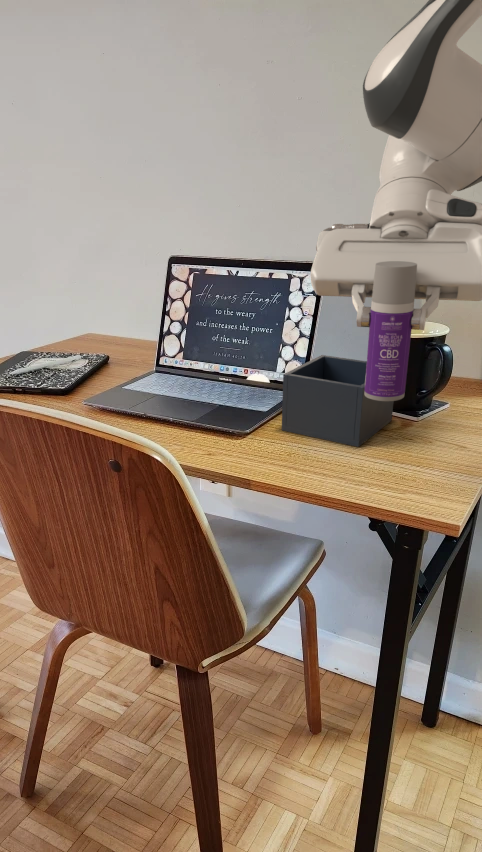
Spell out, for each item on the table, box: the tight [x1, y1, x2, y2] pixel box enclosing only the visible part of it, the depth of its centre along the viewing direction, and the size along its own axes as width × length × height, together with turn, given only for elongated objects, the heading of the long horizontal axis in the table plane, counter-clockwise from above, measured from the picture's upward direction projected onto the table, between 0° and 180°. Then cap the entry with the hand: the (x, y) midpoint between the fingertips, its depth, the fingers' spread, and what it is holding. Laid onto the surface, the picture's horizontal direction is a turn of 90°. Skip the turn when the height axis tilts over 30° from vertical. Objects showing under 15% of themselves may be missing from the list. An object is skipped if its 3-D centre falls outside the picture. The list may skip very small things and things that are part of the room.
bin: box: [281, 354, 395, 448], centre depth 104 cm, size 13×13×9 cm
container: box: [364, 261, 417, 402], centre depth 79 cm, size 5×5×15 cm
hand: (390, 325), depth 78 cm, fingers closed on container, 4 cm apart
